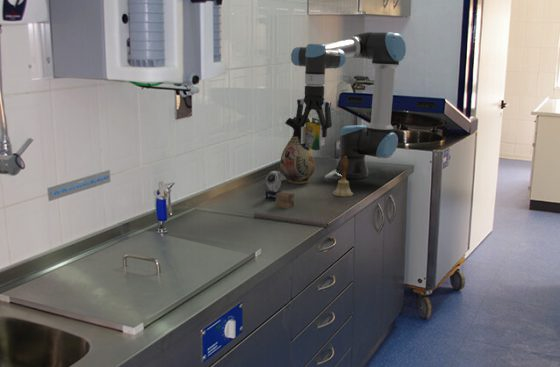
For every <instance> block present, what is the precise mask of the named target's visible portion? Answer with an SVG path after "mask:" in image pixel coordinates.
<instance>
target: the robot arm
mask: <svg viewBox="0 0 560 367" xmlns="http://www.w3.org/2000/svg"><path fill="white" fill-rule="evenodd" d="M406 47H407V46H406V42H405V39H404V38H403V36H402V35H401V34H400V33H396V32H391V31H390V32H384V31H383V32H377V31H375V32H373V31H368V32H367V31H366V32H361V33H357V34H354V35H349V36H347V37H345V38H343V39H342V40H336V41H332V42H331V41H330V42H325V43H308V44H307V45H306V46H296V47H295V48H293V49H292V51H291V54H290V60H291V63H292V64H293V65H294V66H296V67H305V71H304V84H305V86H304V97H303V98H298V99H297V100H296V102H297V108H296V114H295V117H296V120H295V124H296V125H299V127H300V130H299V134H300V135H301V144H304V143H305V139H306V125H305V123H306V120H307V118H309V114H311V111H312V110H313V111H316V113H317V117H318V120H320V124H321V126H320V142H319V146H320V147H322V146H325V141H326V140H325V138H327V137H328V136H327V134H328V129H329V128H332V125H333V124H332V113H331V106H332V102H331V101H327V100H325V97H324V96H325V86H324V85H326V84H325V83H326V82H325V81H326V80H325V78H326V77H325V75H326V69H327V70H328V69H335V70H336V69H340V68H343V66H344V65H345V64H346V59H347V58H348V59H365V60H371V65H372V66H373V67H374V76H373V78H374V79H373V87H372V88H373V90H372V91H373V92H372V102H371V117H370V123H369V124H368V125H365V124H357V125H356V124H355V125H346V126H343V127H342V128H341V130H340V142H339V159H338V162H337V165H336V167H335V169H334V170H335V171H336V172H337V173H339V174H341V175H342V160H343V157H344V156H347V159H348V167H347V170H346V179H363V178H368V176H369V169H368V165H367V161H366V156H369V157H374V158H378V159H389V158H390V157H392V156H393V155H394V153H395V152H396V150H397V147H398V144H399V137H398V135H397V134H396V133H395V132H394V127H393V126H392V124H391V121H392V111H393V110H392V109H393V97H394V87H395V86H394V85H395V72H396V69H397V68H398V67H399V66H400V62H401V61H403V60H404V58H405V56H406V53H407V52H406V50H407V48H406ZM304 104H305V107H304ZM323 106H324V109H323ZM303 111H304V112H303ZM302 115H303V116H302ZM301 118H302V119H301ZM335 171H334V172H335Z"/></svg>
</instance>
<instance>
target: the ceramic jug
mask: <svg viewBox="0 0 560 367" xmlns="http://www.w3.org/2000/svg"><path fill="white" fill-rule="evenodd" d="M302 116H303V114H302ZM301 119H302V118H301ZM295 120H296V116H294V117H293V118H291V117H289V118H288V119H287V120H286V121H285V122H284V123H285V125H286V126H288V127H290V128H292V129H293V133H292V136H291V138H290V139H289V141H288V142H287V144H286V145H285V147H284V149H283V151H282V153H281V157H280V162H279V168H280V173H282V175H283V176H284V178H285V179H286V182H287V183H289V184H293V185H295V184H297V185H300V184H301V185H302V184H308V183H309V181H310V180H309V179H310V178H311V176H312V175H313V174H314V172H315V170H316V160H315V156H314V153H313V150H312V149H310V148H307V147H305V143H304V144H301V135H300V134H299V130H300V127H299V125H296V124H295ZM307 122H311V120H310V118H309V117H308V118H307V120H306V123H307ZM306 123H305V126H306Z"/></svg>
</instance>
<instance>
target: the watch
mask: <svg viewBox="0 0 560 367" xmlns="http://www.w3.org/2000/svg"><path fill="white" fill-rule="evenodd" d="M265 182H266V186H267V190H266V191H265V197H264V198H265V200H270V201H276V194H277V193H280V192H282V191H283V190H281V189H280V188H281V185H282V184H281V183H282V175H281V171H277V170H271V171H270V172H269V173H268V174H266V176H265Z"/></svg>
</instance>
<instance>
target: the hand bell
mask: <svg viewBox="0 0 560 367" xmlns="http://www.w3.org/2000/svg"><path fill="white" fill-rule="evenodd" d="M347 167H348V159H347V156H344V157H343V160H342V177H341V179H339V180H338V181H337V185H336V188H335V190H334V191H333V192H332V195H334V196H336V197H337V196H338V197H352V196H353V195H354V193H353V191H351V188H350V182H349V180H347V178H346V170H347Z"/></svg>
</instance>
